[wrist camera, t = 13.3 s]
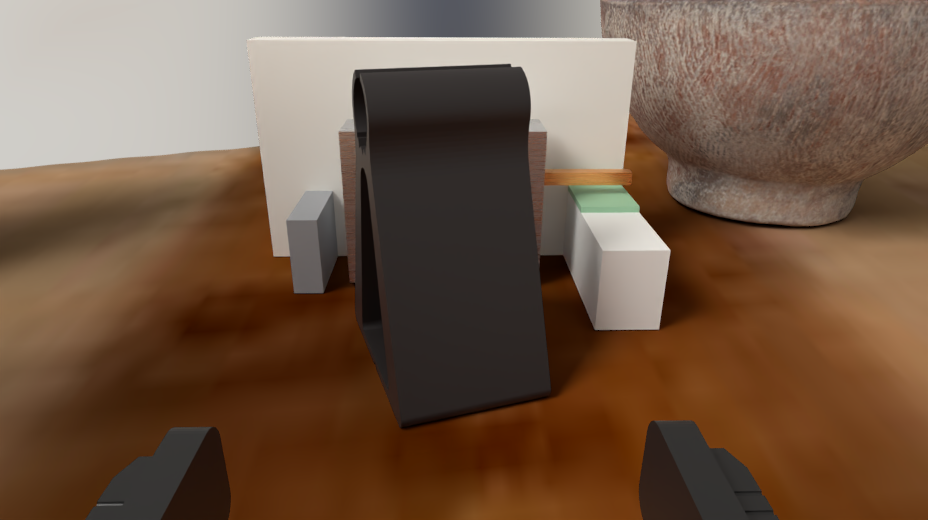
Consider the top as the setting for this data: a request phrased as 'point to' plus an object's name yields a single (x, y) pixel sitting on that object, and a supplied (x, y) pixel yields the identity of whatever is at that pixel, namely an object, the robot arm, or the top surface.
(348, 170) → the block and dowel assembly
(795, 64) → the ceramic pot
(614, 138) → the panel and block assembly
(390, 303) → the phone stand
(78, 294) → the top surface
